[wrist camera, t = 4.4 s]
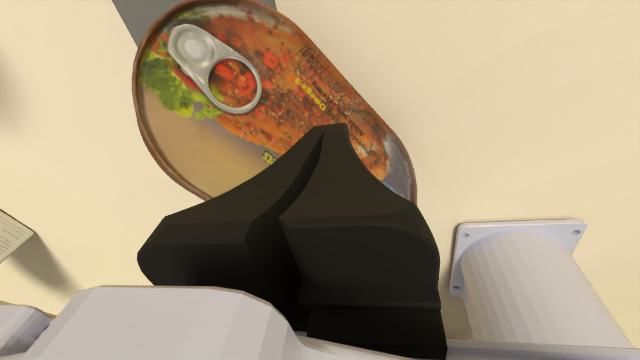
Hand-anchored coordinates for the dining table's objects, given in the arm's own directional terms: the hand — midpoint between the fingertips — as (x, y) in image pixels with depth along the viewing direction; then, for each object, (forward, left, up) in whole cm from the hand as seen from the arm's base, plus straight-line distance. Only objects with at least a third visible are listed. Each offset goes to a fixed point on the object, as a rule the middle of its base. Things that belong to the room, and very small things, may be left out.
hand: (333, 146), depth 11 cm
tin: (0, 0, -5) cm, 5 cm away
